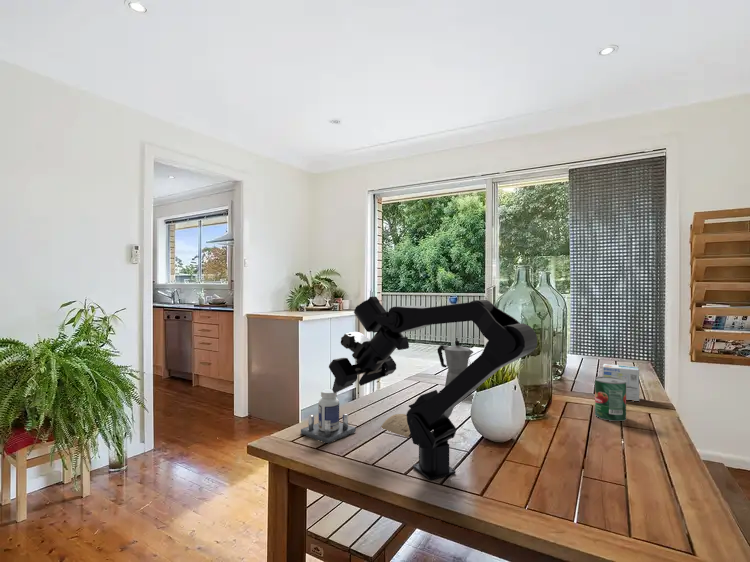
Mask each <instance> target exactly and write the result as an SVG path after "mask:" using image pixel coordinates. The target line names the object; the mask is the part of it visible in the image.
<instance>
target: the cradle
mask: <svg viewBox="0 0 750 562" xmlns="http://www.w3.org/2000/svg"><path fill="white" fill-rule="evenodd" d="M354 432H355V433H356V432H357V431H356V427H355V426H352V425H349V413H342V422H339V428H338V429H337V430H335V431H331V432H330V420H325V431H321V430H320V429H319V422H318V423H315V415H314V414H308V426H306V427H303V428H300V435H303V436H305V435H306V436H305V437H307V438H311V439H313V438H314V440H316V441H318V440H319V441H318V442H321V441H322V442H321V443H324V442H325V443H324V444H326V443H328V444H330V443H333V442H335V441H337V439H338V440H340V439H343V438H345V437H347V435H348V436H350V435H353V434H355V433H354ZM352 433H353V434H352ZM349 434H350V435H349ZM344 436H345V437H344ZM342 437H343V438H342ZM339 438H340V439H339ZM334 440H335V441H334ZM332 441H333V442H332Z"/></svg>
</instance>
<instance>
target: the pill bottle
mask: <svg viewBox="0 0 750 562" xmlns="http://www.w3.org/2000/svg"><path fill="white" fill-rule="evenodd" d="M332 389H333V388H331V389H330V388H329V389H322V390H321V392H320V396H321V398H320V399H319V400H318V411H317V412H318V413H317V414H318V423H319V429H320V430H321V431H325V420H330V432H331V431H335V430H337V429H338V428H339V423H340V400H339V399H338V397H337V393H338V392H337V393H334V392H333V390H332Z"/></svg>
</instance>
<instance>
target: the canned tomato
mask: <svg viewBox="0 0 750 562" xmlns="http://www.w3.org/2000/svg"><path fill="white" fill-rule="evenodd" d="M595 415H596V416H597V417H599V418H601V419H600V420H602V419H604V420H603V421H605V420H609V421H608V422H611V421H624V422H626V421H627V401H626V381H625V380H623V379H619V378H614V377H603V376H597V377H594V416H595ZM596 416H595V417H596ZM597 417H596V418H597ZM599 418H598V419H599ZM625 420H626V421H625Z"/></svg>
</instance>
